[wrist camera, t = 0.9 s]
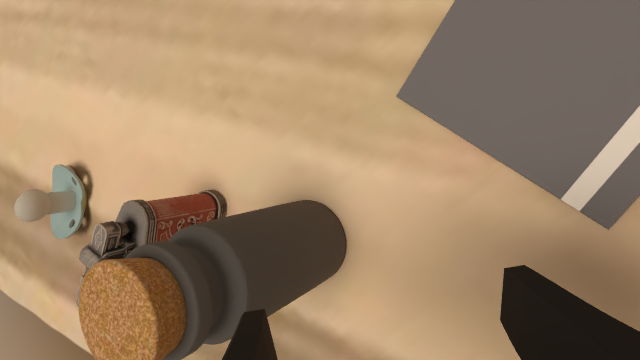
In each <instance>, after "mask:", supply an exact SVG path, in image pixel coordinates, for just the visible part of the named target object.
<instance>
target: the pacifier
mask: <svg viewBox="0 0 640 360" xmlns="http://www.w3.org/2000/svg"><path fill="white" fill-rule="evenodd" d="M52 187H53V192H50V193H45V192H44V191H42V190H39V189H31V190H28V191H26V192H24V193H23V194H21V195H20V196H19V198H18V199H17V201H16V203H15V208H14V209H15V214H16V216H17V217H18V218H19V219H20V220H23V221H28V222H31V221H36V220H39V219H41V218H43V217H44V216H45V215H47V214H51V229H52V233H53V235H54V236H55V237H56V238H58V239H64V238H68V237H70V236H72V235H73V234H74V233H75V232H76V231H77V230H78V229H79V227H80V225H81V223H82V220H83V215H84V212H85V209H86V204H87V196H86V190H85V187H84V185H83V183H82V182H81V180H80V179H79V177H78V176H77V175H76V173H75V171H74V170H73V168H71V167H70V166H64V165H55V167H54V168H53V186H52ZM74 222H75V224H74V226H73V227H72V225H73V223H74Z"/></svg>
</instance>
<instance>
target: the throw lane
mask: <svg viewBox="0 0 640 360" xmlns="http://www.w3.org/2000/svg"><path fill="white" fill-rule="evenodd" d="M396 97H398V98H400V99H401V100H403V101H404V102H406V103H408V104H409V105H411V106H412V107H414V108H416V109H417V110H419V111H420V112H422V113H424V114H425V115H427V116H428V117H430V118H432V119H433V120H435V121H436V122H438V123H440V124H441V125H443V126H444V127H446V128H447V129H449V130H451V131H452V132H454V133H455V134H457V135H459V136H460V137H462V138H463V139H465V140H467V141H468V142H470V143H471V144H473V145H475V146H476V147H478V148H479V149H481V150H483V151H484V152H486V153H487V154H489V155H491V156H492V157H494V158H495V159H497V160H498V161H500V162H502V163H503V164H505V165H506V166H508V167H510V168H511V169H513V170H514V171H516V172H518V173H519V174H521V175H522V176H524V177H526V178H527V179H529V180H530V181H532V182H534V183H535V184H537V185H538V186H540V187H542V188H543V189H545V190H546V191H548V192H549V193H551V194H553V195H554V196H556V197H557V198H559V199H561V200H562V201H564V202H565V203H567V204H568V205H570V206H572V207H573V208H575V209H576V210H578V211H580V212H581V213H583V214H585V215H586V216H588V217H589V218H591V219H593V220H594V221H596V222H597V223H599V224H600V225H602V226H604V227H605V228H607V229H608V230H609V229H610V228H611V226H612V225H613V224H614V223H615V222H616V221H617V220H618V219H619V218H620V217H621V216H622V215H623V213H624V212H625V211H626V210H627V209H628V208H629V207H630V206H631V205H632V204H633V203H634V201H635V200H636V199H637V198H638V197H639V196H640V0H455V1H454V3H453V5H452V6H451V8H450V9H449V11H448V13H447V14H446V16H445V18H444V19H443V21H442V23H441V24H440V26H439V27H438V29H437V31H436V32H435V34H434V36H433V37H432V39H431V40H430V42H429V44H428V45H427V47H426V49H425V50H424V52H423V54H422V55H421V57H420V58H419V60H418V62H417V63H416V65H415V67H414V68H413V70H412V72H411V73H410V75H409V76H408V78H407V80H406V81H405V83H404V85H403V86H402V88H401V89H400V91H399V93H398V94H397V96H396Z"/></svg>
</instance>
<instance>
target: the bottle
mask: <svg viewBox="0 0 640 360" xmlns="http://www.w3.org/2000/svg"><path fill="white" fill-rule="evenodd" d="M345 252H346V238H345V234H344V231H343V228H342V225H341V223H340V221H339V220H338V218H337V217H336V216H335V214H334V213H333V212H332V211H331V210H330V209H328V208H327V207H326V206H324V205H322V204H320V203H318V202H315V201H310V200H303V201H296V202H291V203H286V204H282V205H277V206H273V207H268V208H264V209H259V210H255V211H250V212H246V213H242V214H237V215H233V216H228V217H224V218H220V219H215V220H211V221H207V222H203V223H199V224H195V225H191V226H188V227H185V228H183V229H181V230H179V231H177V232H176V233H175V234H174V235H173V236H171V238H170V239H169V240H168V241H157V242H152V243H148V244H144V245H141V246H139V247H137V248H135V249H133V250H132V251H131V252H130V253H129V254H128V255H127V256H126V257H125V259H105V260H102V261H99V262H97V263H96V264H94V265H93V266H92V267H91V268H90V269H89V270H88V271H87V273H86V275H85V276H84V279H83V281H82V284H81V288H80V294H79V316H80V323H81V327H82V331H83V334H84V337H85V340H86V343H87V345H88V347H89V349H90V351H91V353H92V354H93V356H94V357H95V359H96V360H181V359H183V358H185V357H186V356H188V355H190V354H191V353H193V352H194V351H196V350H197V349H198V348H199V347H200V346H201V345H202V344H203V343H204V344H220V343H223V342H225V341H228V340H230V339H231V338H232V337H233V335H234V333H235V330H236V328H237V325H238V323H239V320H240V318H241V316H242V314H243V313H244V312H248V311H254V310H260V309H265V311H266V315H267V317H268V316H270V315H271V314H273V313H275V312H276V311H278V310H279V309H281V308H283V307H284V306H286V305H287V304H289V303H291V302H292V301H294V300H295V299H297V298H299V297H300V296H302V295H303V294H305V293H307V292H308V291H310V290H311V289H313V288H315V287H316V286H318V285H319V284H321V283H322V282H324V281H325V280H327V279H328V278H330V277H331V276H332V275H334V274H335V273H336V272H337V270H338V269H339V268H340V266H341V265H342V262H343V260H344V257H345Z"/></svg>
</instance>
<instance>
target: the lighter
mask: <svg viewBox="0 0 640 360" xmlns="http://www.w3.org/2000/svg"><path fill="white" fill-rule="evenodd" d="M226 213H227V203H226V200H225V198H224V196H223V195H222V194H221V193H220V192H218V191H216V190H206V191H202V192H200V193H199V194H194V195H187V196H180V197H173V198H166V199H159V200H152V201H144V200H132V201H127V202H125V203H124V204H123V206H122V207H121V210H120V212H119V214H118V217H117V219H116V221H115V222H114V221H111V222H105V223H100V224H96V225H95V228H94V232H93V236H92V240H91V243H90V244H89V245H87V246H86V247H84V248H83V249H82V251H81V253H80V257H79V259H80V261H81V262H82V263H83V264H84V265H85V270H84V274H83V276H82V277H81V281H80V285H79V290H78V294H77V298H76V305H77V306H78V308H79V294H80V288H81V284H82V281H83V279H84V276H85V275H86V273H87V271H88V270H89V269H90V268H91V267H92V266H93V265H94V264H96V263H97V262H99V261H102V260H105V259H125V257H126V256H127V255H128V254H129V253H130V252H131V251H132V250H133V249H135V248H137V247H139V246H141V245H144V244H148V243H152V242H157V241H168V240H169V239H170V238H171V236H173V235H174V234H175V233H176V232H177V231H179V230H181V229H183V228H185V227H188V226H191V225H195V224H199V223H203V222H207V221H211V220H215V219H220V218H224V217H226Z"/></svg>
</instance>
